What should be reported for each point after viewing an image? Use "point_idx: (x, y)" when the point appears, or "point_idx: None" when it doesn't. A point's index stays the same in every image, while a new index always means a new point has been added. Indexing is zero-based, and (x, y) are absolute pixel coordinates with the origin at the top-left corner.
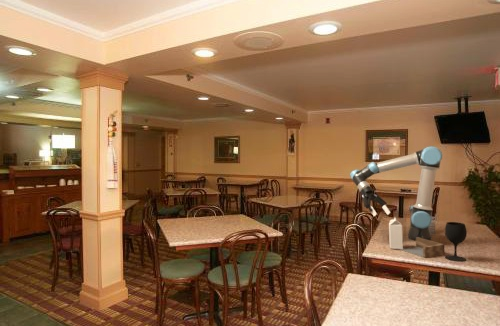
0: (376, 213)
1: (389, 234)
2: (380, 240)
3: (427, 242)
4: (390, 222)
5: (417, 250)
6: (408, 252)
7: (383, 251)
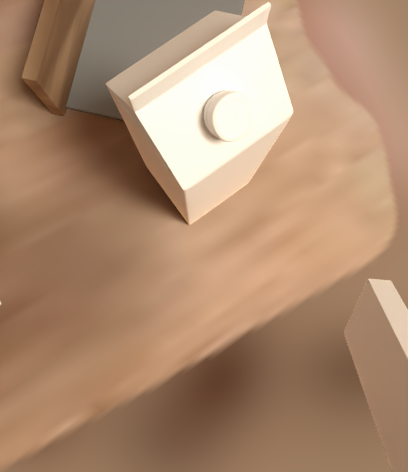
0: (382, 288)
1: (213, 194)
2: (98, 356)
3: (68, 1)
4: (205, 153)
5: None
6: None
7: (329, 181)
